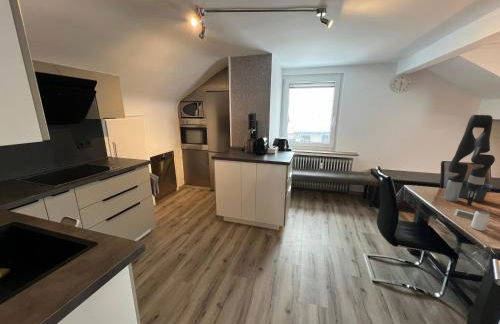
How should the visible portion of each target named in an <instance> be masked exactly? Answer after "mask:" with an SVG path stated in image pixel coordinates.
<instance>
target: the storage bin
mask: <svg viewBox="0 0 500 324" xmlns="http://www.w3.org/2000/svg"><path fill="white" fill-rule="evenodd" d="M467 183H468V179H464V181H463V185H462V188H461V192H460V195H459V198H463V199H467V200H468V194H469V193H468V192H469V190H471V189H469V188H467V187H466V186H467ZM492 188H493V185H492V184H489V183H486V182H484V184H483V187H482V190H476V191H477V194H476V195H475V198H473V201H475V202H476V201H477V202H479V203H481V202H482V203H483V202H484V200H485V199H486V196H487V194H488V191H490V190H491V189H492Z"/></svg>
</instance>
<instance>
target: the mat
mask: <svg viewBox="0 0 500 324" xmlns="http://www.w3.org/2000/svg"><path fill="white" fill-rule="evenodd" d="M458 211H462V212H465V213H469V214H473V215H474V214H475V212H474V213H473V212H470V211H465V210H462V209H459V208H456V209H455V211H454V213H453V215H452V216H453V217H458V218H460V219H465V220H469V221H471V222H472V220H470V219H466V218H463V217H459V216H456V215H457V212H458Z"/></svg>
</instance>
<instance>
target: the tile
mask: <svg viewBox="0 0 500 324" xmlns="http://www.w3.org/2000/svg"><path fill="white" fill-rule="evenodd" d="M462 211H463V210H462ZM462 211H458V212H457V215H456V216H455V217H457V216H459V217H458V218H461V217H463V218H462V219H464V218H466V219H465V220H468V219H470V220H469V221H471V220H473V217H474V215H473V214H469V213H465V212H462Z"/></svg>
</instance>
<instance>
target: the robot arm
mask: <svg viewBox="0 0 500 324" xmlns="http://www.w3.org/2000/svg"><path fill="white" fill-rule="evenodd" d="M493 120H494V119H493V116H492V115H489V114H473V115H471V116H470V117H469V120H468V121H467V124H466V128H465V131H464V134H463V135H462V137H461V140H460V143H458V146H457V149H456V152H455V153H454V157H453V158H452V160H451V162H450V163H449V166H448V168H447V169H448V172H450V173H453V174H455V175H450V176H448V180H447V181H446V182H447V183H446V186H445V191H444V194H443V199H444V200H446V201H447V202H448V201H449V202H455V203H456V202H459V198H460V197H459V195H460V192H461V188H462V185H463V181H464V180H466V179H465V178H466V176H467V173H468V169H469V164H468V163H466V162H461V160H462V159H464V158H466V157H468V156H469V155H471V154H472V156H471V158H470V161H471V163H473V164H474V165H481V166H476V167H475V166H474V167H472V169H471V171H470V175H469V177H468V179H467V180H468V183H467V186H466V187H467V188H469V189H471V190H469V192H468V193H469V194H468V199H467V201H466V205H467V206H470V207H471V206H472V205H473V204H472V203H473V201H474V200H473V198H475V195H476V194H477V191H476V190H482V187H483V184H484V183H485V179H486V176H487V173H488V171H489V169H490V168H491V166H492V165H493V164H494V163H495V161H496V158H495V155H492V154H487V153H489V152H490V151H491V145H490V143H491V142H490V141H491V133H492V127H493ZM476 128H477V129H480V128H481V129H483V131H482V132H481V133H480V134H479V135H478V136H477V137H475V135H474V132H473V130H474V129H476Z"/></svg>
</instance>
